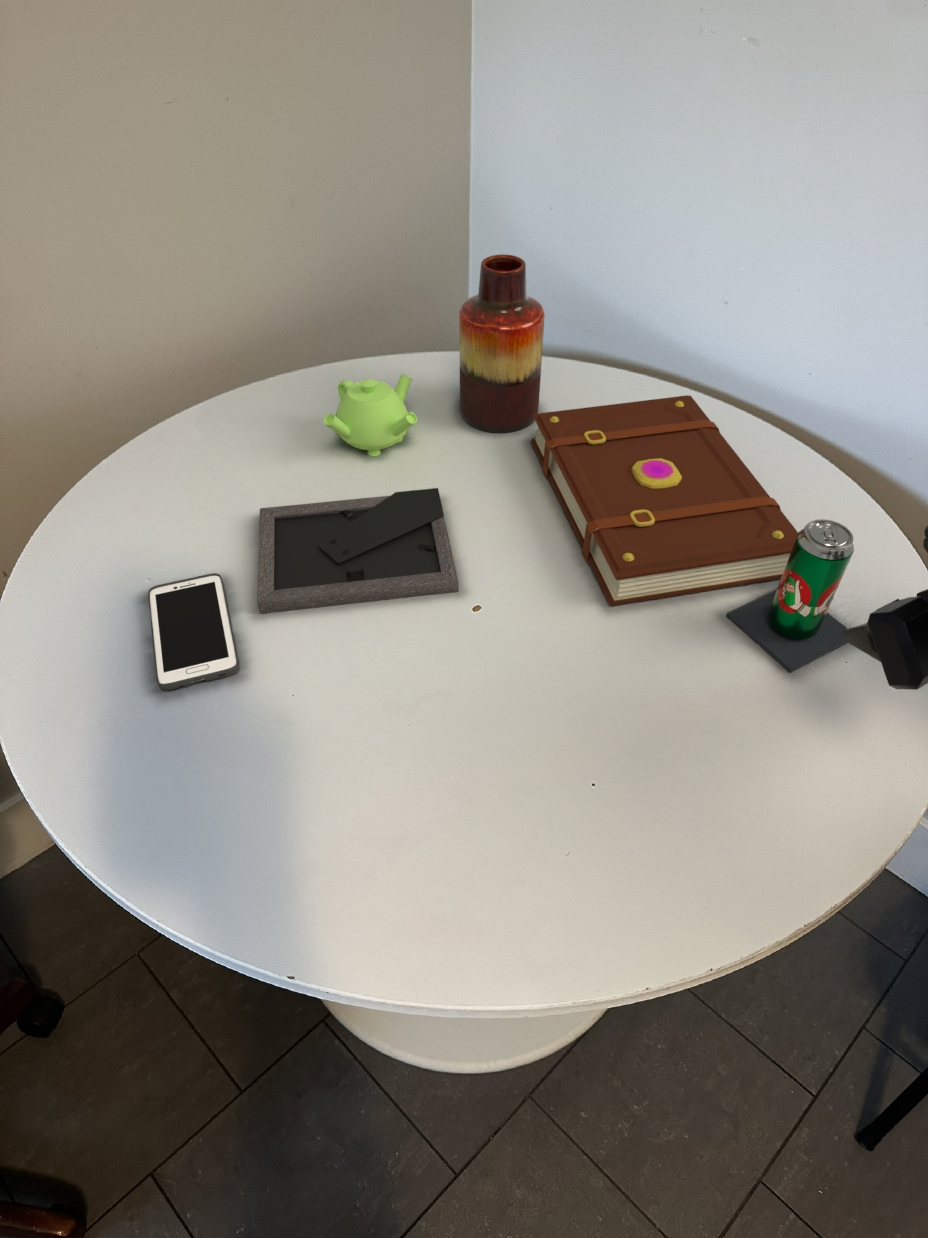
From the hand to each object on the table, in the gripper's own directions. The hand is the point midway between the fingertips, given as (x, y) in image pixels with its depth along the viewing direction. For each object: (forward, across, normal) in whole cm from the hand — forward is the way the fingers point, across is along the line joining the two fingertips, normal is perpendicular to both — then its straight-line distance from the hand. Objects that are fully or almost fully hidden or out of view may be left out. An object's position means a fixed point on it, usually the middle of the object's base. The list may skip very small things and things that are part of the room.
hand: (883, 616), depth 72 cm
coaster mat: (+12, -1, 0) cm, 12 cm away
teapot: (+49, +21, -36) cm, 64 cm away
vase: (+48, +4, -35) cm, 59 cm away
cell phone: (+33, +52, -21) cm, 66 cm away
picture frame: (+36, +33, -23) cm, 54 cm away
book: (+29, -2, -16) cm, 33 cm away
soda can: (+12, -1, 0) cm, 12 cm away
